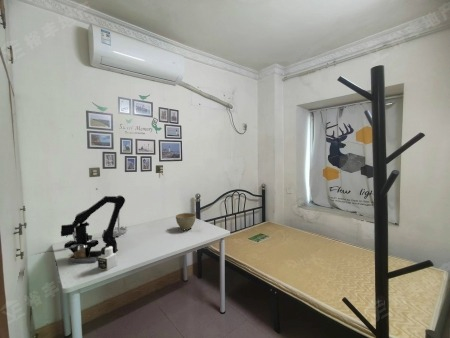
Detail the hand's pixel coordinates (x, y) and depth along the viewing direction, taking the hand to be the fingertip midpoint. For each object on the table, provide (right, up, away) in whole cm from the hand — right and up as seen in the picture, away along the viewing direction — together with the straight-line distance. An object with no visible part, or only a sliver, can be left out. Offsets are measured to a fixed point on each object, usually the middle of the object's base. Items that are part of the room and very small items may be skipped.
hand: (82, 256), depth 142 cm
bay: (+2, -1, +3) cm, 3 cm away
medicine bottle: (+23, -1, -12) cm, 26 cm away
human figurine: (-17, -1, +19) cm, 26 cm away
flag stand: (+2, +1, +45) cm, 45 cm away
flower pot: (+57, +2, +58) cm, 81 cm away
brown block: (0, -1, 0) cm, 1 cm away
